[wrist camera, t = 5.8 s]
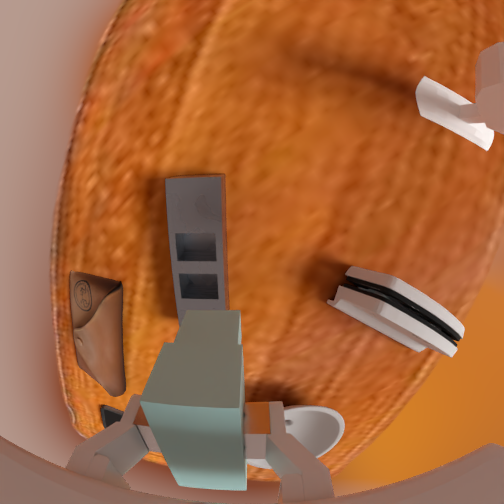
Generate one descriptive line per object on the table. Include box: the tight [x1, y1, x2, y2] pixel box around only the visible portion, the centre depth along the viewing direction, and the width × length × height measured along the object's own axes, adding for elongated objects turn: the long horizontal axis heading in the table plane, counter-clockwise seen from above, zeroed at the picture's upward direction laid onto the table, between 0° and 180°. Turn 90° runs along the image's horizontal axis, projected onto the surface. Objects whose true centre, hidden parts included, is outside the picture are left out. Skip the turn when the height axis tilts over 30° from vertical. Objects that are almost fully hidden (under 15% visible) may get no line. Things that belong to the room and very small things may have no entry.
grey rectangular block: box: [165, 174, 229, 327], centre depth 27 cm, size 16×5×4 cm, turn 0°
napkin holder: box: [327, 266, 465, 357], centre depth 27 cm, size 17×5×10 cm, turn 59°
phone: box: [101, 405, 124, 429], centre depth 39 cm, size 8×1×15 cm
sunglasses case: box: [70, 270, 126, 397], centre depth 32 cm, size 18×7×7 cm, turn 168°
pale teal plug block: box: [140, 310, 247, 490], centre depth 10 cm, size 6×3×6 cm, turn 1°
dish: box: [247, 405, 345, 469], centre depth 35 cm, size 18×14×5 cm
